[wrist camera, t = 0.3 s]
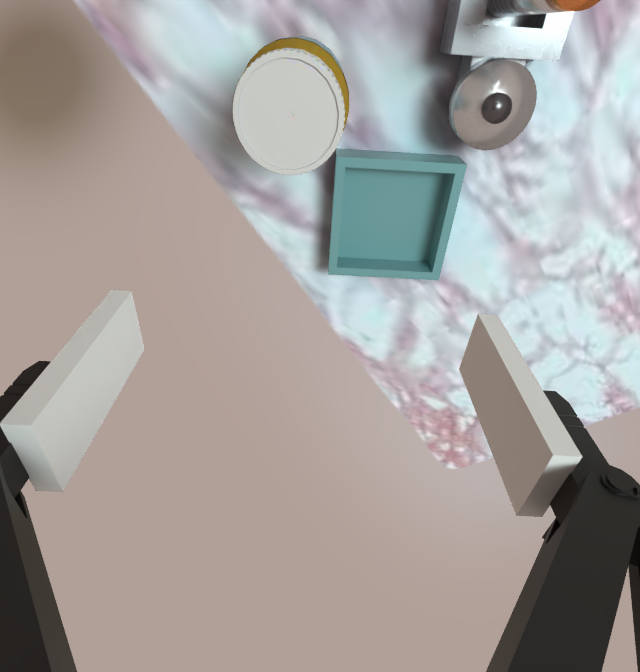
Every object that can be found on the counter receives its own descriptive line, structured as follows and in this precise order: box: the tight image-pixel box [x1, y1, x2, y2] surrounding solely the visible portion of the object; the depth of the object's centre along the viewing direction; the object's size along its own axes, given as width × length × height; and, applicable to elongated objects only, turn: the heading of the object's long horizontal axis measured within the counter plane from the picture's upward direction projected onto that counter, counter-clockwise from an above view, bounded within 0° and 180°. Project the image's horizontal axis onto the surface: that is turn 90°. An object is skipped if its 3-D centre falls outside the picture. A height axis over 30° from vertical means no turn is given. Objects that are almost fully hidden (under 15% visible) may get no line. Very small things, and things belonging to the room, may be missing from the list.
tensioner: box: [439, 0, 574, 150], centre depth 31 cm, size 14×8×5 cm, turn 177°
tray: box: [328, 149, 467, 280], centre depth 40 cm, size 11×11×3 cm
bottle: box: [232, 36, 349, 175], centre depth 29 cm, size 7×7×15 cm
